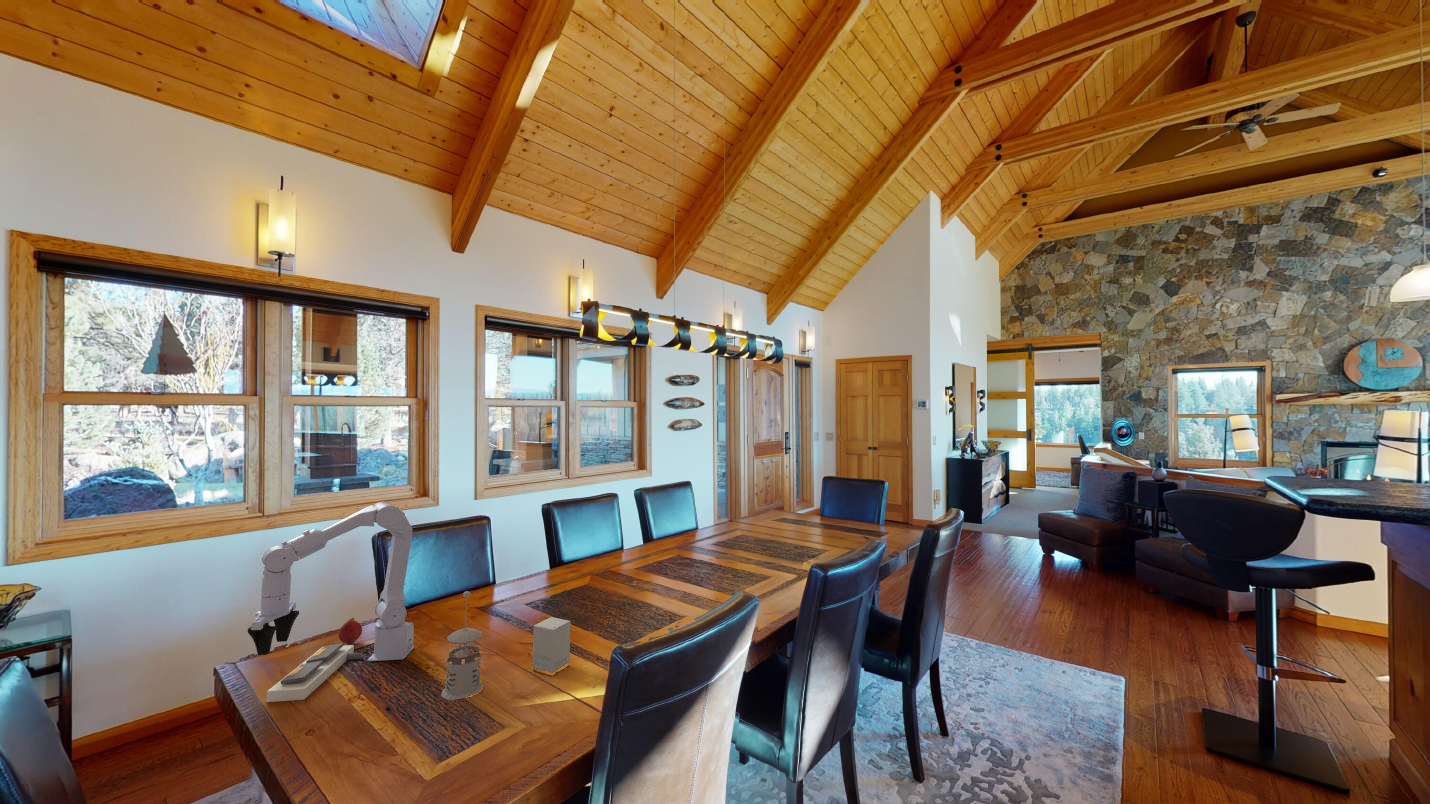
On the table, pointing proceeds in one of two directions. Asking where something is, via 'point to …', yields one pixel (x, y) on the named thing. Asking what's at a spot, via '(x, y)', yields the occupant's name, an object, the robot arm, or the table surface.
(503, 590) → the table surface
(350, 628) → the onion
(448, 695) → the french press
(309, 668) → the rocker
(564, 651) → the supplement box
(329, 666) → the rocker switch panel
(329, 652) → the rocker
